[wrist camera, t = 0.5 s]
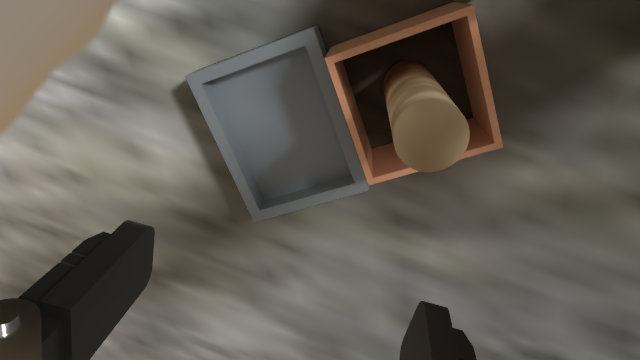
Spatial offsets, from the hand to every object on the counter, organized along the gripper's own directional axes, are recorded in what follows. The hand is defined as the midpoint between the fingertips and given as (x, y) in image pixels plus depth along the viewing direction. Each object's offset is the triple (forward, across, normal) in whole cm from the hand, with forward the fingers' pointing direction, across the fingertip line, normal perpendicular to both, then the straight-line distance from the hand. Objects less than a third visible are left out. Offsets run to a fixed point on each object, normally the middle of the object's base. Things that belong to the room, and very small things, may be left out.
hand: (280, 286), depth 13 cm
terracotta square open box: (+26, -5, -2) cm, 27 cm away
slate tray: (+26, +4, +4) cm, 27 cm away
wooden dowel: (+26, -5, -2) cm, 27 cm away
